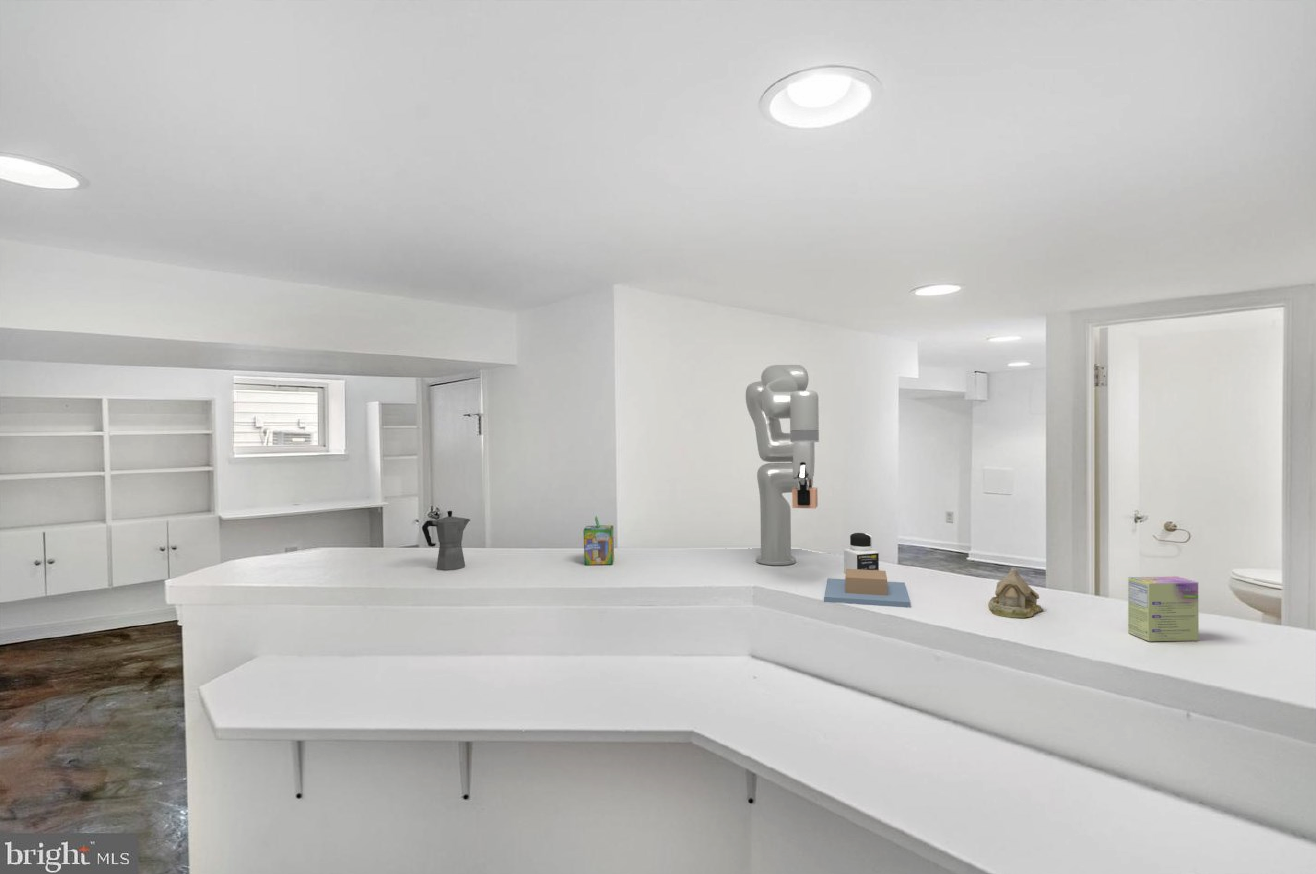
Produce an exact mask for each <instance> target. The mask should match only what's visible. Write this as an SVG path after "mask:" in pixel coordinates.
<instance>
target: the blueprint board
mask: <svg viewBox="0 0 1316 874" xmlns="http://www.w3.org/2000/svg"><path fill="white" fill-rule="evenodd" d="M844 574H845V577H844V578H832V577H831V578H827V579H826V586H825V591H824V596H823V602H825V603H837V602H846V603H845V604H852V603H856V604H855V605H870V606H883V607H884V606H886V607H898V608H899V607H900V608H911V600H910V596H909V593H908V590H907V585H906V582H902V581H901V582H899V581H888V577H887V573H886V570H880V569H879V570H860V569H846V573H844Z"/></svg>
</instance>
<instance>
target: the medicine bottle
mask: <svg viewBox="0 0 1316 874" xmlns="http://www.w3.org/2000/svg"><path fill="white" fill-rule="evenodd" d="M849 541H850V544H849V546H850V548H844V549H843V564H844V565H843V566H844V568H843V569H844V570H843V572H844V574H846V569H860V570H880V568H879V565H880V562H879V559H880V557H879V556H880V553H879V551H877V550H873V536H872V535H871V534H869V533H867V532H866V533H865V532H854V533H852V534H850V535H849Z"/></svg>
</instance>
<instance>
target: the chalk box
mask: <svg viewBox="0 0 1316 874" xmlns="http://www.w3.org/2000/svg"><path fill="white" fill-rule="evenodd" d="M594 520H595V524H596V525H586V526H585V527H584V529H583V530H582V531H583V549H584V550H583V551H584V552H583V553H584V554H583V555H584V566H597V565H599V566H600V565H601V566H603V565H611V566H612V565H613V564H614V561H615V546H614V545H615V543H614V542H615V541H614V539H615V538H614V537H615V536H614V535H615V533H614V532H615V531H614V525H613V524H612V525H605V524H603V525H601V524H600V522H599V519H598V517H597V515H596V516H595V517H594Z"/></svg>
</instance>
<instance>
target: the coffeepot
mask: <svg viewBox="0 0 1316 874" xmlns="http://www.w3.org/2000/svg"><path fill="white" fill-rule="evenodd" d="M469 522H471V519H470V518H464V517H457V516H453V511H452V510H448V511H447V516H446V517H443V518H442V517H441V518H439V519H434V520H432V519H431V520H426V521H425V522H424V523H423V525H422V527H421V530H422V532H423V535H424V538H425V540H426V543H427V545H428V547H435V546H436V545H437V544H436V543H435V542H432V537H431V536H430V530H429V527H435V529H436V534H437V539H438V543H439V548H438V553H437V554H438V556H437V560H436V561H437V563H436V569H437V570H438V569H439V571H455V570H456V571H457V570H461V569H464V568H465V567H466V562H465V556H464V552H463V545H462V541H463V536H464V530H465V529H466V527H467V525H468V524H469Z"/></svg>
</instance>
